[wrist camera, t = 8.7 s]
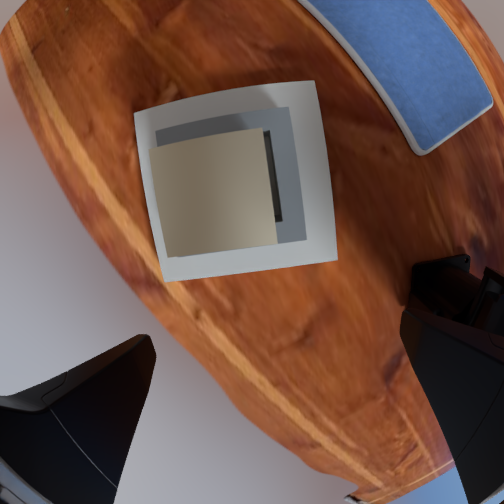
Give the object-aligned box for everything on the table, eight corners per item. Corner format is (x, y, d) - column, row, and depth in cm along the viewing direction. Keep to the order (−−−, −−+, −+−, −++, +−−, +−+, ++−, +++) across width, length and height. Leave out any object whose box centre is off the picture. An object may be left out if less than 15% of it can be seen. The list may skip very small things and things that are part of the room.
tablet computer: (266, -21, 14) (266, -30, 13) (369, -48, 12) (373, -54, 10) (412, 160, 18) (421, 160, 17) (489, 105, 16) (498, 104, 14)
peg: (261, 151, 16) (262, 127, 8) (269, 207, 17) (277, 243, 9) (203, 160, 17) (148, 149, 8) (212, 215, 18) (167, 257, 9)
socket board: (310, 86, 16) (322, 67, 12) (332, 253, 20) (348, 272, 16) (142, 116, 17) (116, 106, 13) (170, 274, 20) (152, 297, 17)
